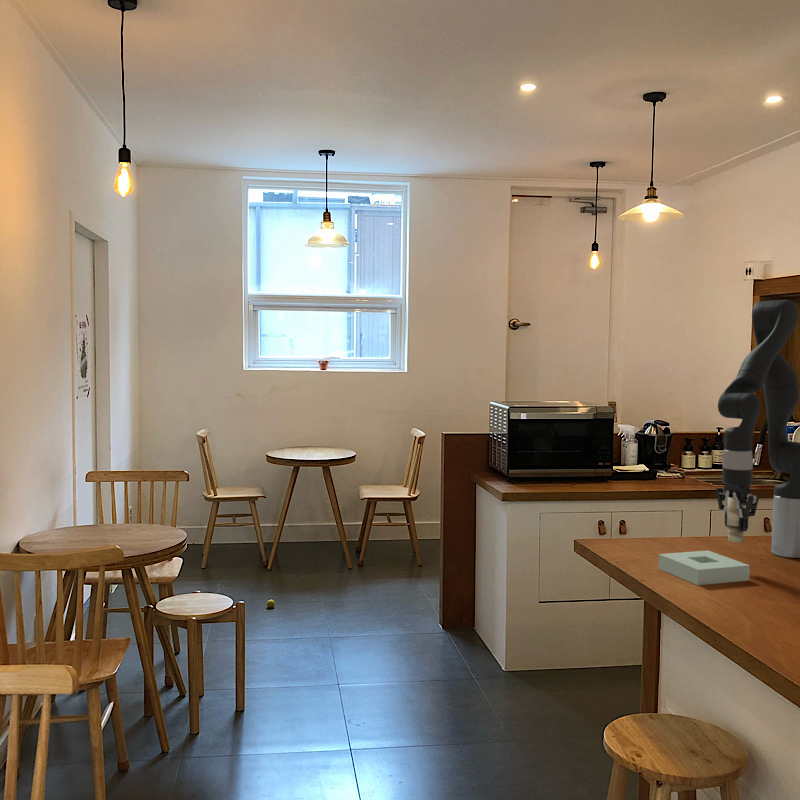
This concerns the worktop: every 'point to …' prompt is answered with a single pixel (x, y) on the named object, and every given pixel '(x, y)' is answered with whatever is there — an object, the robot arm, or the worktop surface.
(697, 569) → the board
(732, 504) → the peg
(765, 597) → the worktop surface
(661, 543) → the worktop surface
